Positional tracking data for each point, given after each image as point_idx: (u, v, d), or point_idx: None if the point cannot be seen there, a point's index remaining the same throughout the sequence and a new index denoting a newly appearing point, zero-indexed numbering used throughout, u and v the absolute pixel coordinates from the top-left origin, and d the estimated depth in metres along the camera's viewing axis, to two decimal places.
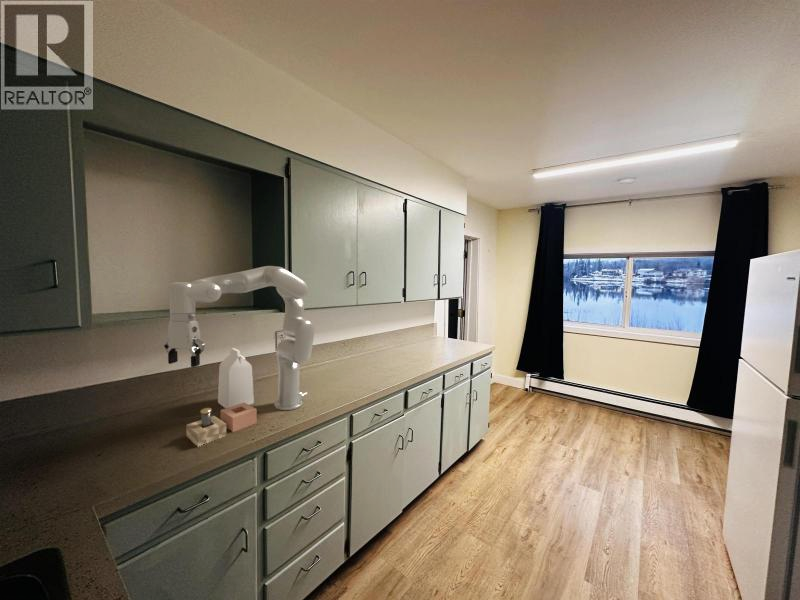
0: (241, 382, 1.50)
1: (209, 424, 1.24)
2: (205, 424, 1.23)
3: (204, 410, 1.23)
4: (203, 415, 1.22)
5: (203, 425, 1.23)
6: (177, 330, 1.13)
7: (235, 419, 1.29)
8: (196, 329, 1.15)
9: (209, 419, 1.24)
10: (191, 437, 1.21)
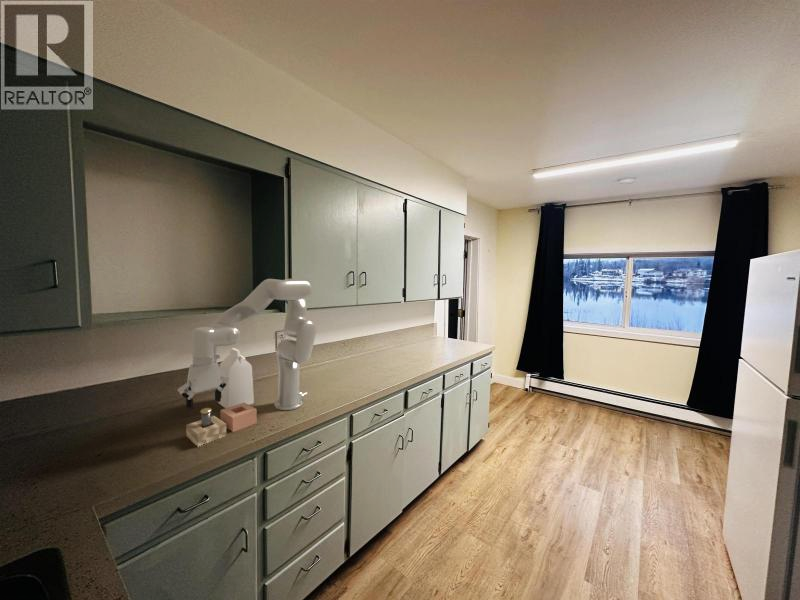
0: (241, 382, 1.50)
1: (209, 424, 1.24)
2: (205, 424, 1.23)
3: (204, 410, 1.23)
4: (203, 415, 1.22)
5: (203, 425, 1.23)
6: (208, 373, 1.20)
7: (235, 419, 1.29)
8: None
9: (209, 419, 1.24)
10: (191, 437, 1.21)
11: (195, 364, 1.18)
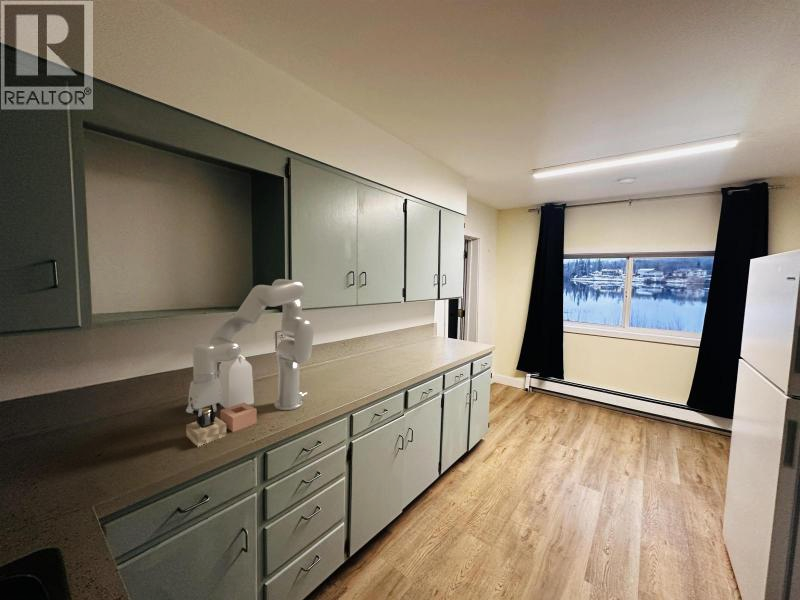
0: (241, 382, 1.50)
1: (209, 424, 1.24)
2: (205, 424, 1.23)
3: (204, 410, 1.23)
4: (203, 415, 1.22)
5: (203, 425, 1.23)
6: (209, 389, 1.21)
7: (235, 419, 1.29)
8: None
9: (209, 419, 1.24)
10: (191, 437, 1.21)
11: (196, 381, 1.19)
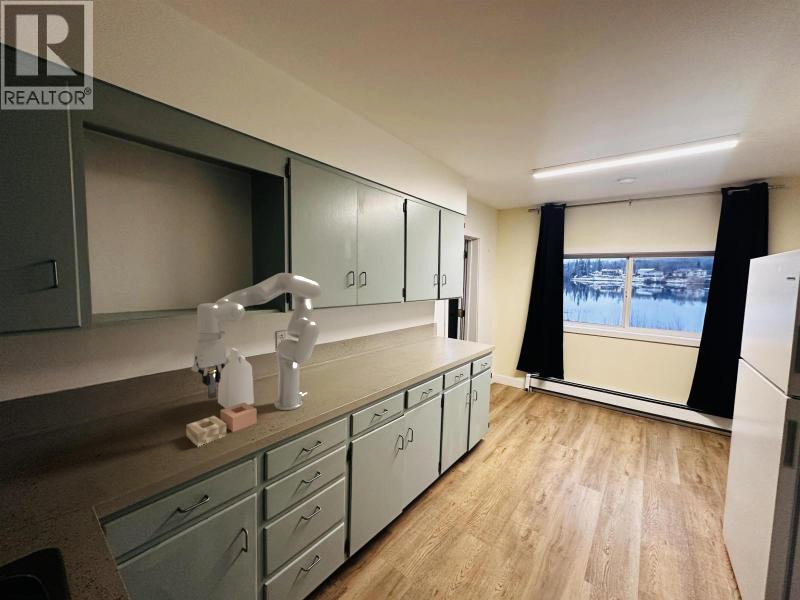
0: (241, 382, 1.50)
1: (214, 384, 1.24)
2: (210, 384, 1.23)
3: (209, 370, 1.23)
4: None
5: (208, 385, 1.23)
6: (214, 348, 1.21)
7: (235, 419, 1.29)
8: None
9: (214, 379, 1.24)
10: (191, 437, 1.21)
11: (201, 339, 1.19)
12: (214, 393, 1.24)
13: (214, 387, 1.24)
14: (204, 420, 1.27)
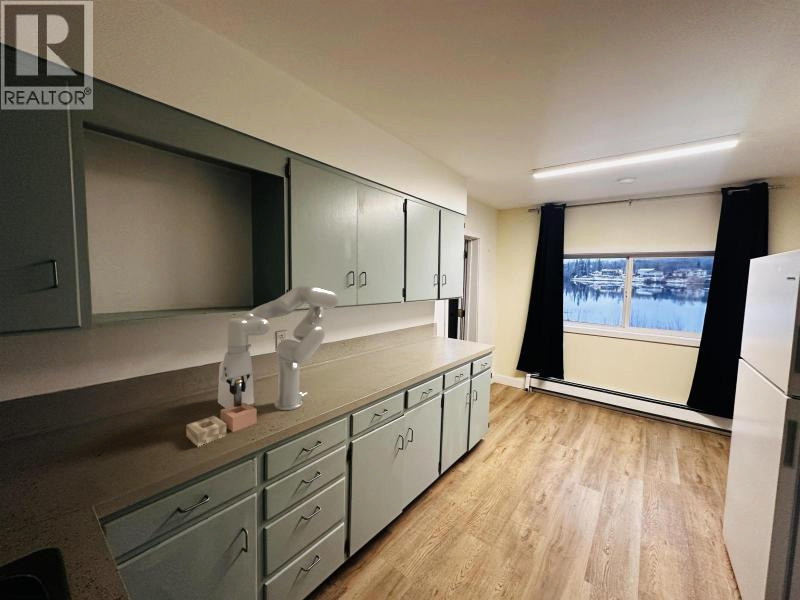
0: None
1: (240, 393, 1.34)
2: (237, 393, 1.33)
3: (236, 380, 1.33)
4: (235, 384, 1.32)
5: (235, 394, 1.33)
6: (241, 360, 1.31)
7: (235, 419, 1.29)
8: None
9: (240, 389, 1.33)
10: (191, 437, 1.21)
11: (230, 352, 1.29)
12: (240, 402, 1.34)
13: (240, 396, 1.34)
14: (204, 420, 1.27)
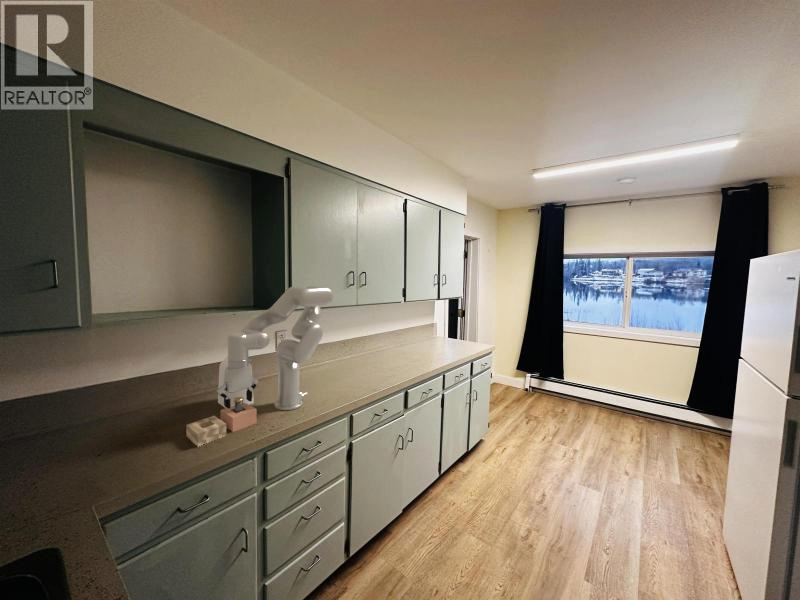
0: None
1: None
2: None
3: (237, 399, 1.34)
4: (236, 403, 1.33)
5: (236, 412, 1.34)
6: (242, 374, 1.32)
7: (235, 419, 1.29)
8: None
9: (241, 407, 1.35)
10: (191, 437, 1.21)
11: (230, 367, 1.29)
12: None
13: None
14: (204, 420, 1.27)
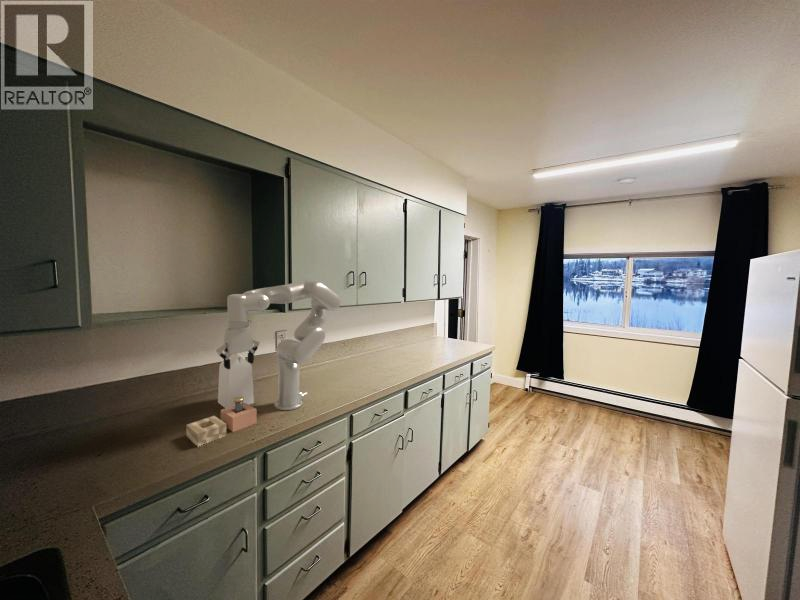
0: (241, 382, 1.50)
1: None
2: None
3: (237, 399, 1.34)
4: (236, 403, 1.33)
5: (236, 412, 1.34)
6: (242, 335, 1.31)
7: (235, 419, 1.29)
8: None
9: (241, 407, 1.35)
10: (191, 437, 1.21)
11: (231, 327, 1.28)
12: None
13: None
14: (204, 420, 1.27)
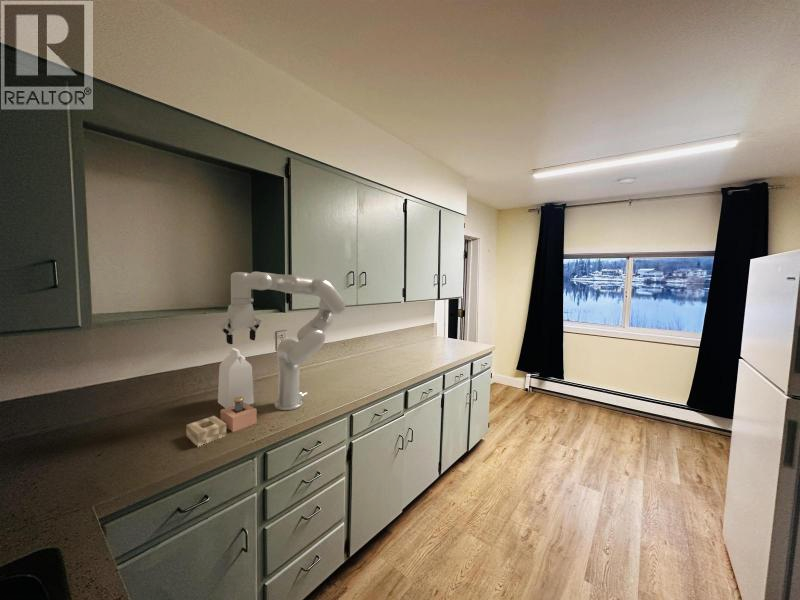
0: (241, 382, 1.50)
1: None
2: None
3: (237, 399, 1.34)
4: (236, 403, 1.33)
5: (236, 412, 1.34)
6: (244, 312, 1.35)
7: (235, 419, 1.29)
8: None
9: (241, 407, 1.35)
10: (191, 437, 1.21)
11: (234, 304, 1.33)
12: None
13: None
14: (204, 420, 1.27)
